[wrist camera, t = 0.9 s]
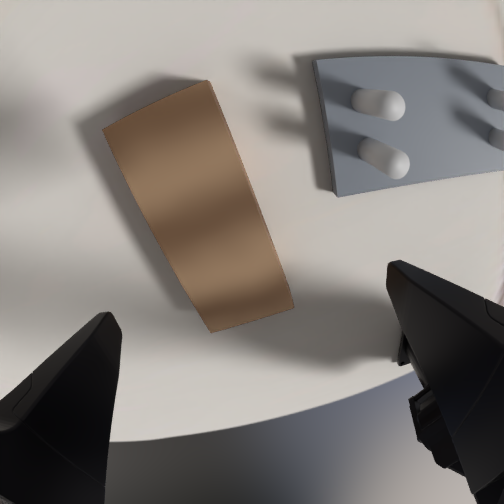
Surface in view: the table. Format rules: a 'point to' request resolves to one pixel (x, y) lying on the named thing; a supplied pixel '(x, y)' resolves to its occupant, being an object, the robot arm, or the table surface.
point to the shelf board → (201, 206)
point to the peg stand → (409, 120)
